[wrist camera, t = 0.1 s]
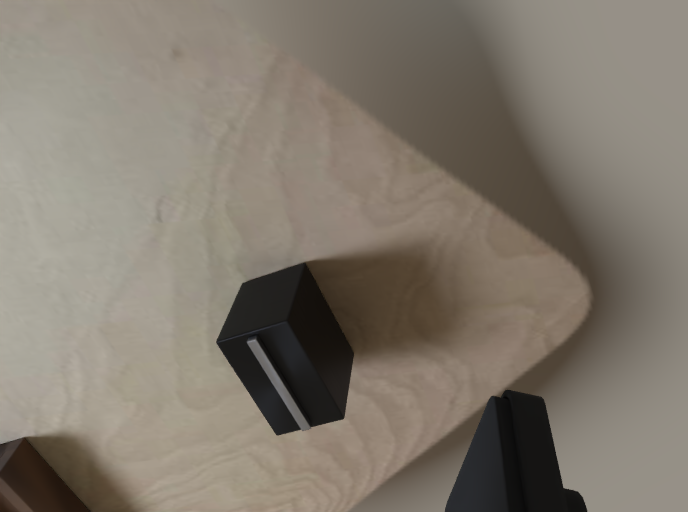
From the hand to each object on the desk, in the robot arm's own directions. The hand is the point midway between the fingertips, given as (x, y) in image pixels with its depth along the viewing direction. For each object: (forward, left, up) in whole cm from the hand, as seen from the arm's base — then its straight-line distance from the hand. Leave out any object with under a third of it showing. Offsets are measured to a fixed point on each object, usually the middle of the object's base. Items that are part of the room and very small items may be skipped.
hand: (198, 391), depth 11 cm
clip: (+8, -5, -15) cm, 17 cm away
